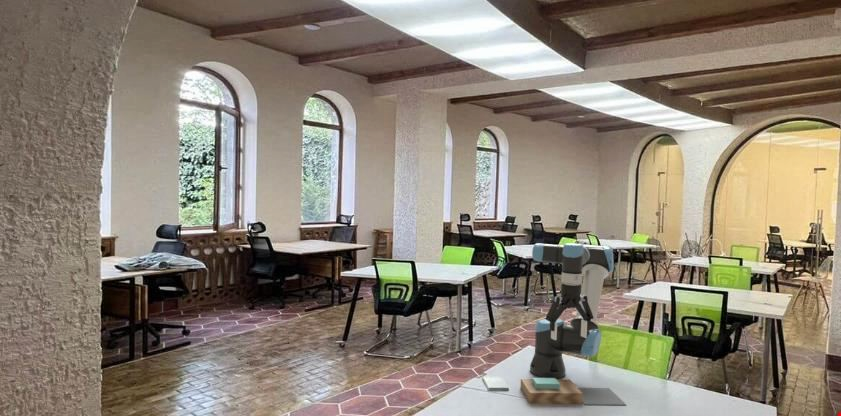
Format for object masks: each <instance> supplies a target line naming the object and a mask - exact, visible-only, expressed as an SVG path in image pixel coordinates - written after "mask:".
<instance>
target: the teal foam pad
mask: <svg viewBox="0 0 841 416" xmlns="http://www.w3.org/2000/svg"><path fill="white" fill-rule="evenodd" d="M531 379H532V383H533V385H534V386H535V388H536V389H560V384H559V382H558V381H557V380H556V379H557V378H544V377H532V378H531Z"/></svg>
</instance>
